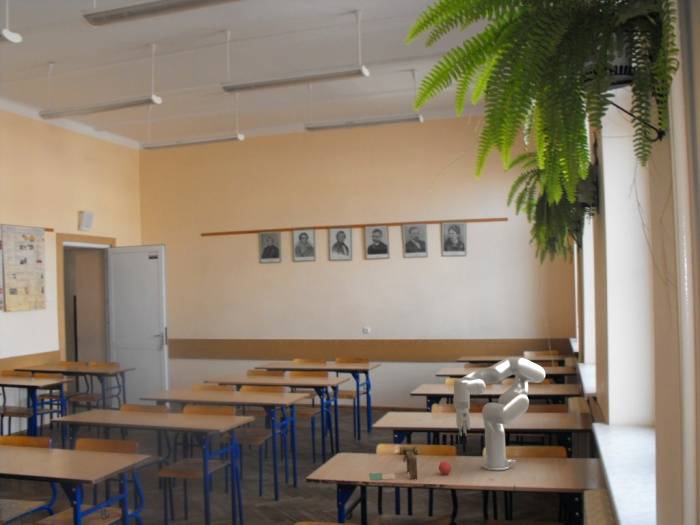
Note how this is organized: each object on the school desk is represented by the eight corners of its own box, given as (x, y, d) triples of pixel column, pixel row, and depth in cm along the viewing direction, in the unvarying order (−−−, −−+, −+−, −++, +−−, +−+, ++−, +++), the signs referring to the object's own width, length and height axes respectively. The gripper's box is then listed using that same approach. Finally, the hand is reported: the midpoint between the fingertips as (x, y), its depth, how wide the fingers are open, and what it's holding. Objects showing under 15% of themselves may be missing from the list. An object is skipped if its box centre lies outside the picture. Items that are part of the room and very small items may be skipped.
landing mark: (394, 473, 318) (394, 472, 318) (396, 479, 306) (396, 478, 307) (369, 473, 318) (369, 473, 318) (371, 480, 306) (371, 479, 306)
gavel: (415, 456, 340) (396, 456, 342) (415, 465, 340) (396, 465, 342) (418, 445, 361) (400, 445, 363) (419, 453, 361) (401, 453, 363)
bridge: (413, 471, 320) (412, 451, 321) (417, 479, 305) (416, 458, 306) (407, 471, 320) (406, 451, 321) (410, 479, 305) (410, 458, 306)
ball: (450, 472, 316) (449, 459, 317) (452, 475, 310) (452, 462, 311) (438, 473, 316) (437, 460, 317) (440, 476, 310) (439, 463, 311)
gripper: (473, 407, 309) (474, 446, 307) (466, 402, 324) (467, 440, 322) (457, 407, 308) (458, 447, 307) (451, 403, 323) (452, 441, 322)
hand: (463, 443), depth 314 cm, fingers closed
